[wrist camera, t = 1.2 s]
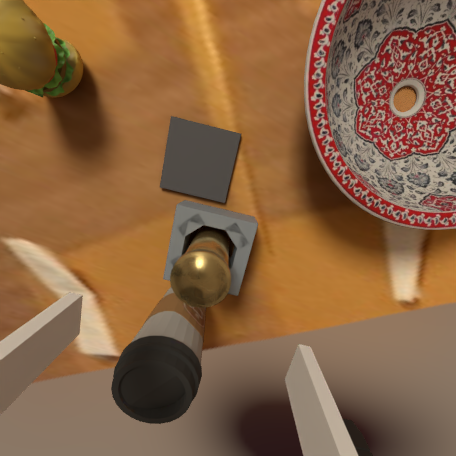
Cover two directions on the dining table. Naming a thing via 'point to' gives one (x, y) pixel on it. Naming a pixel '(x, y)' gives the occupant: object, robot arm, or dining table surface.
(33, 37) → the hamburger
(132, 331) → the dining table surface
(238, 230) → the housing
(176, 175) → the rubber mat
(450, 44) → the ceramic bowl
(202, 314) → the coffee cup
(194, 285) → the gold round-topped cylinder
